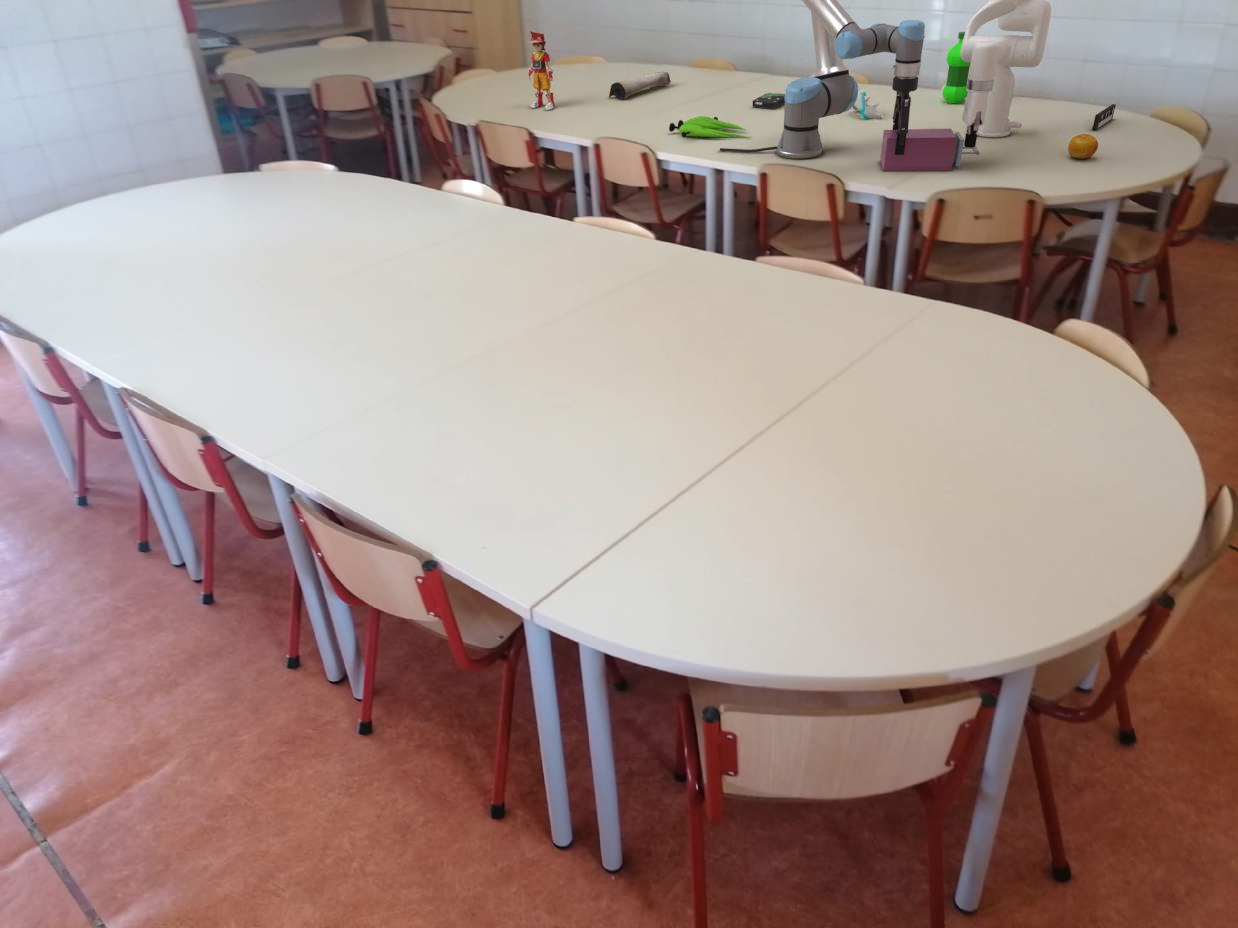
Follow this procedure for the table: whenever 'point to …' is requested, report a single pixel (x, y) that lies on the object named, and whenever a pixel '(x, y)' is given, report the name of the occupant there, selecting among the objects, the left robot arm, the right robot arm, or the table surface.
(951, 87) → the plastic bottle
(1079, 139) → the fruit
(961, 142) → the drawer
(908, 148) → the cabinet
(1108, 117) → the midi keyboard
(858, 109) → the anatomical model
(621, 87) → the rolled mat
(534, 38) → the toy
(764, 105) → the disk drive
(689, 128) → the toy
